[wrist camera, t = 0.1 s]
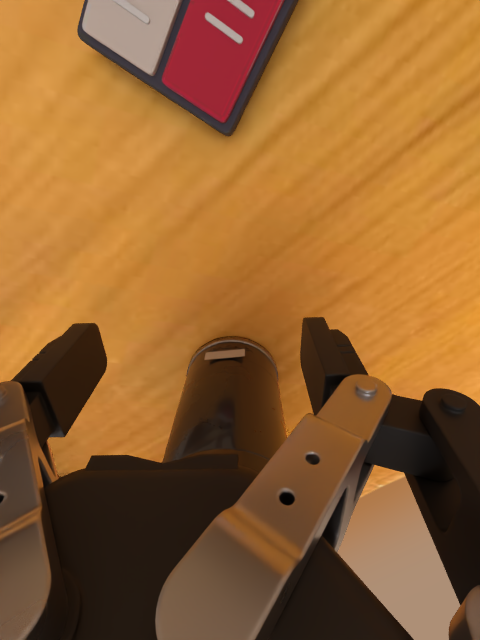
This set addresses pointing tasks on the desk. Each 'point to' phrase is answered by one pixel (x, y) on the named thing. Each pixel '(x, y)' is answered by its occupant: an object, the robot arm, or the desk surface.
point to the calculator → (191, 48)
